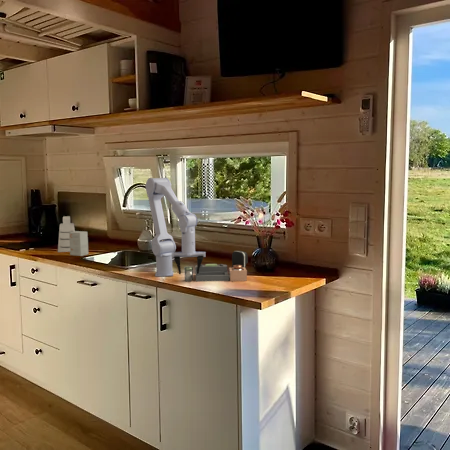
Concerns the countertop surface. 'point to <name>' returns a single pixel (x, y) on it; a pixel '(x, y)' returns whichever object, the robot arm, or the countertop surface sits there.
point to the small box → (78, 243)
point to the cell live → (188, 273)
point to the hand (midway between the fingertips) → (188, 273)
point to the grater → (65, 234)
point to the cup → (238, 274)
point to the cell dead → (237, 267)
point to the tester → (212, 273)
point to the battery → (239, 258)
